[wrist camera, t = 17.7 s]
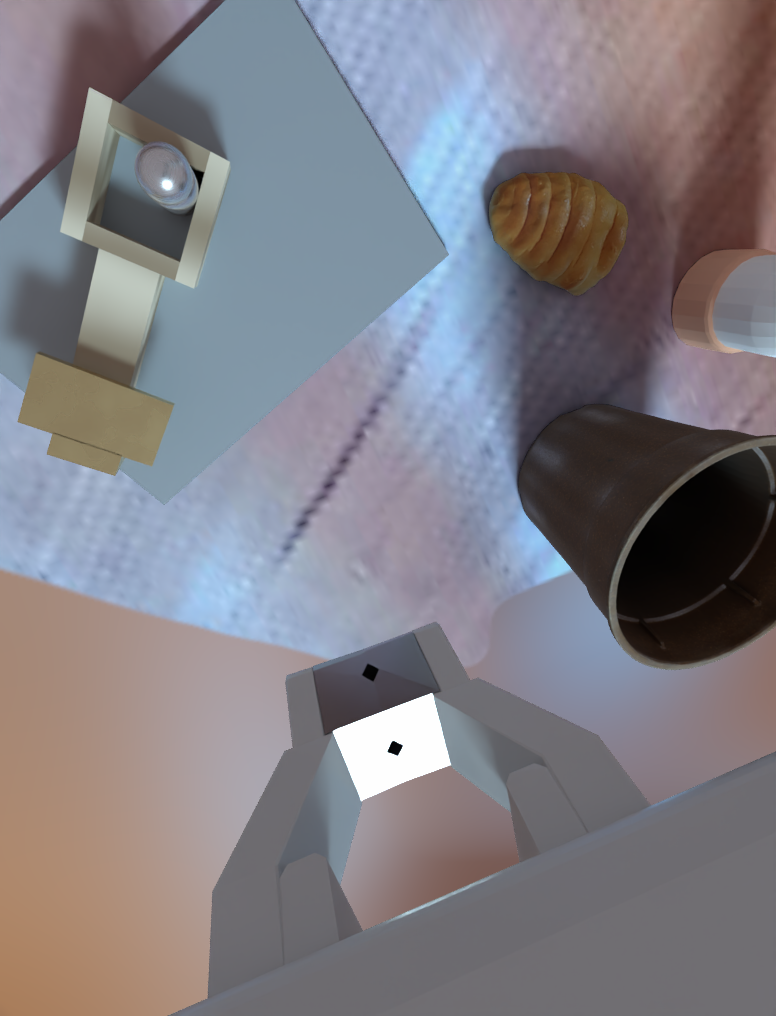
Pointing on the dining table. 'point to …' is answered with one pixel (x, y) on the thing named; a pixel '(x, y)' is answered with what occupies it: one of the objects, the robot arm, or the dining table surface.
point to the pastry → (559, 228)
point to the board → (231, 236)
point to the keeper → (93, 415)
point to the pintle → (167, 177)
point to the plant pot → (661, 528)
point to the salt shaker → (729, 302)
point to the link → (130, 239)
